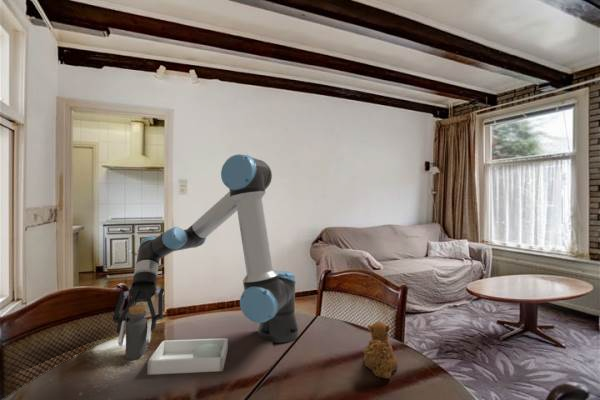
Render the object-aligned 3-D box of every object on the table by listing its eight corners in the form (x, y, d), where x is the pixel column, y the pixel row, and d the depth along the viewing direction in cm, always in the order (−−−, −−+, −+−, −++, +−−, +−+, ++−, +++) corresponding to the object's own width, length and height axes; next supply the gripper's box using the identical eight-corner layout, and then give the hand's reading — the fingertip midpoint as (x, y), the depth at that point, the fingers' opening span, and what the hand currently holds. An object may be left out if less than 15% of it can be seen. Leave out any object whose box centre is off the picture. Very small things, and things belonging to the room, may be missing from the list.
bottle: (137, 361, 93) (138, 310, 93) (120, 358, 94) (122, 309, 94) (150, 352, 98) (151, 304, 99) (134, 350, 99) (136, 303, 100)
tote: (227, 352, 99) (228, 338, 99) (222, 374, 86) (223, 358, 86) (162, 355, 96) (162, 340, 97) (147, 378, 84) (147, 361, 84)
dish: (221, 352, 97) (221, 343, 97) (219, 365, 89) (220, 355, 89) (194, 354, 95) (194, 344, 95) (190, 367, 87) (190, 357, 87)
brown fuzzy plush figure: (397, 361, 95) (398, 318, 95) (399, 387, 82) (399, 337, 82) (364, 356, 98) (365, 315, 98) (361, 380, 84) (361, 332, 84)
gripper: (176, 280, 114) (170, 343, 98) (115, 283, 108) (99, 351, 92) (175, 269, 109) (168, 333, 93) (111, 271, 103) (93, 341, 87)
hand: (134, 342), depth 93 cm, fingers open, 7 cm apart
